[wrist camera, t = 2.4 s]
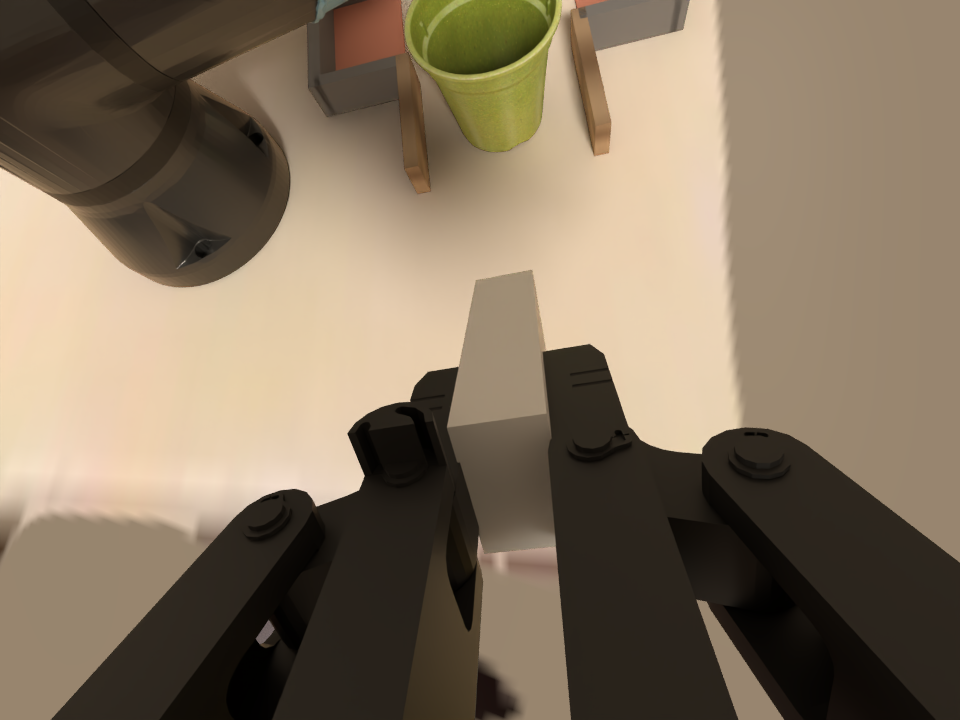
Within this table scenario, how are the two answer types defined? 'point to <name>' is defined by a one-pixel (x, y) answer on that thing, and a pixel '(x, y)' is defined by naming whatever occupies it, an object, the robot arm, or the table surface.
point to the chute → (588, 85)
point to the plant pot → (486, 62)
